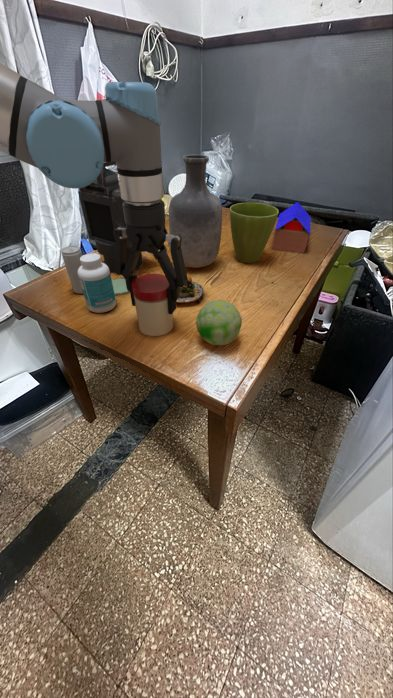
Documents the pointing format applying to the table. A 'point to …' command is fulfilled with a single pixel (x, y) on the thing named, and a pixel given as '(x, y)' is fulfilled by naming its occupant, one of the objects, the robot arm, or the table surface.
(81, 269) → the pill bottle
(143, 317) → the jar
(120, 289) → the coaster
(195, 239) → the vase
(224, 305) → the decorative ball
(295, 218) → the house
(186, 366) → the table surface
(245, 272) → the table surface
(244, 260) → the flower pot
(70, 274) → the beverage can
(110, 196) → the lantern
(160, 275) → the jar lid
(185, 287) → the plate of food
